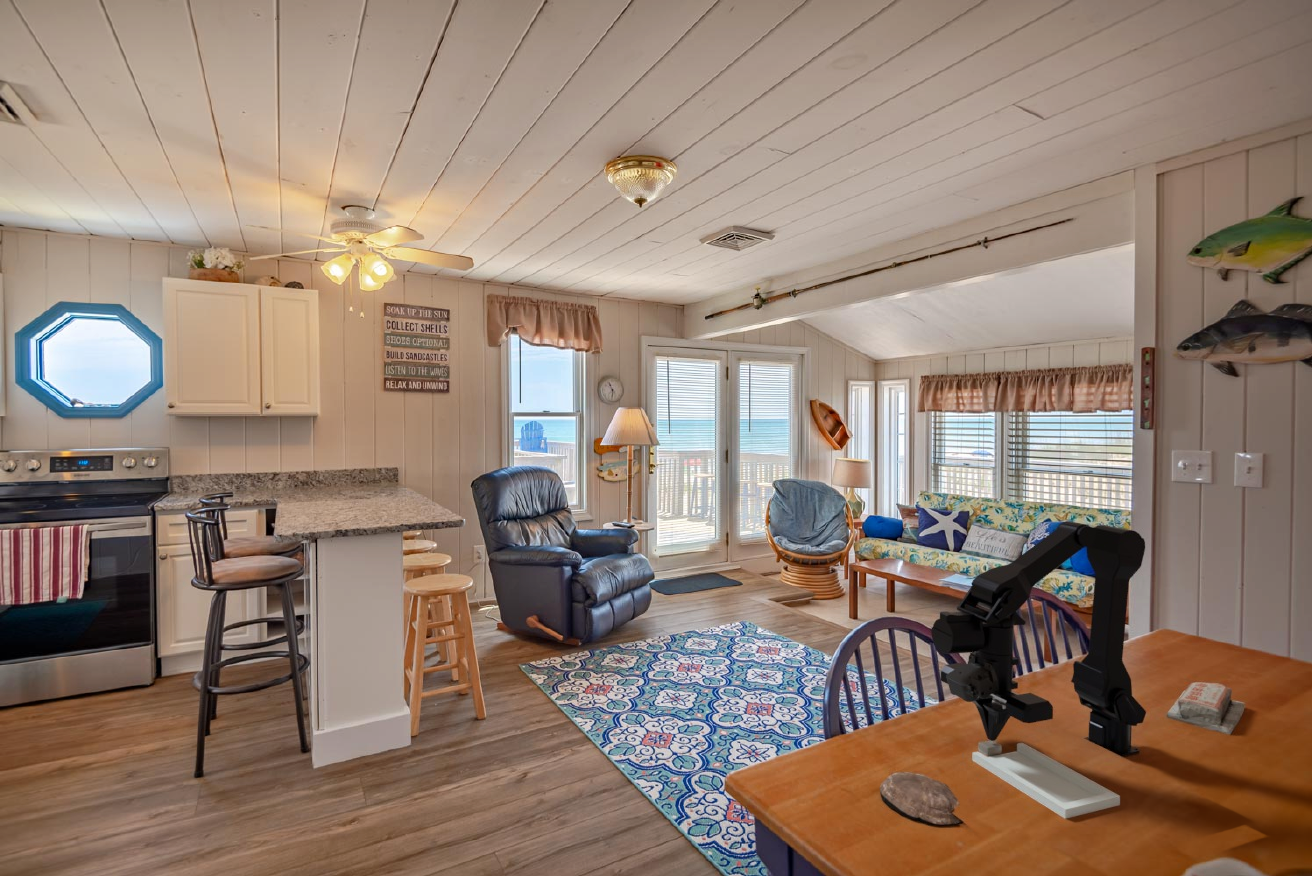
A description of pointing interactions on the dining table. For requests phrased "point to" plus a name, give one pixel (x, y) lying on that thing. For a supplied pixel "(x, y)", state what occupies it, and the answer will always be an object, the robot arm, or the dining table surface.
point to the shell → (920, 799)
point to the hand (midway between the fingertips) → (991, 739)
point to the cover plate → (990, 748)
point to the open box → (1048, 781)
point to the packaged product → (1207, 707)
